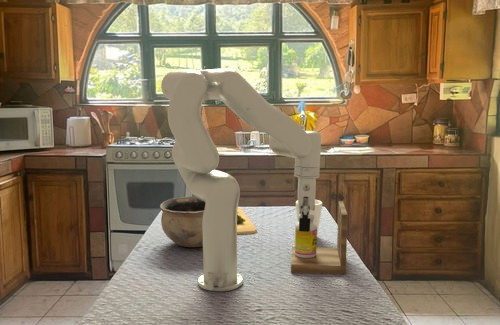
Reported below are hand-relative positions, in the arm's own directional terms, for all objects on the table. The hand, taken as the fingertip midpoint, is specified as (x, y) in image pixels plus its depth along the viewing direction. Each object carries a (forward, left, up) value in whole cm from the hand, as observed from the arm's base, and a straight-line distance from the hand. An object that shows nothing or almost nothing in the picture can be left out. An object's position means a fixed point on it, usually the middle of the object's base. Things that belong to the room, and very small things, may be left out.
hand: (304, 227), depth 155 cm
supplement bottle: (+1, -1, -10) cm, 9 cm away
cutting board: (+44, +33, -13) cm, 56 cm away
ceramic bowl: (+15, +38, -12) cm, 43 cm away
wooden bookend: (+1, -4, -12) cm, 13 cm away
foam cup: (+28, -2, -12) cm, 30 cm away
